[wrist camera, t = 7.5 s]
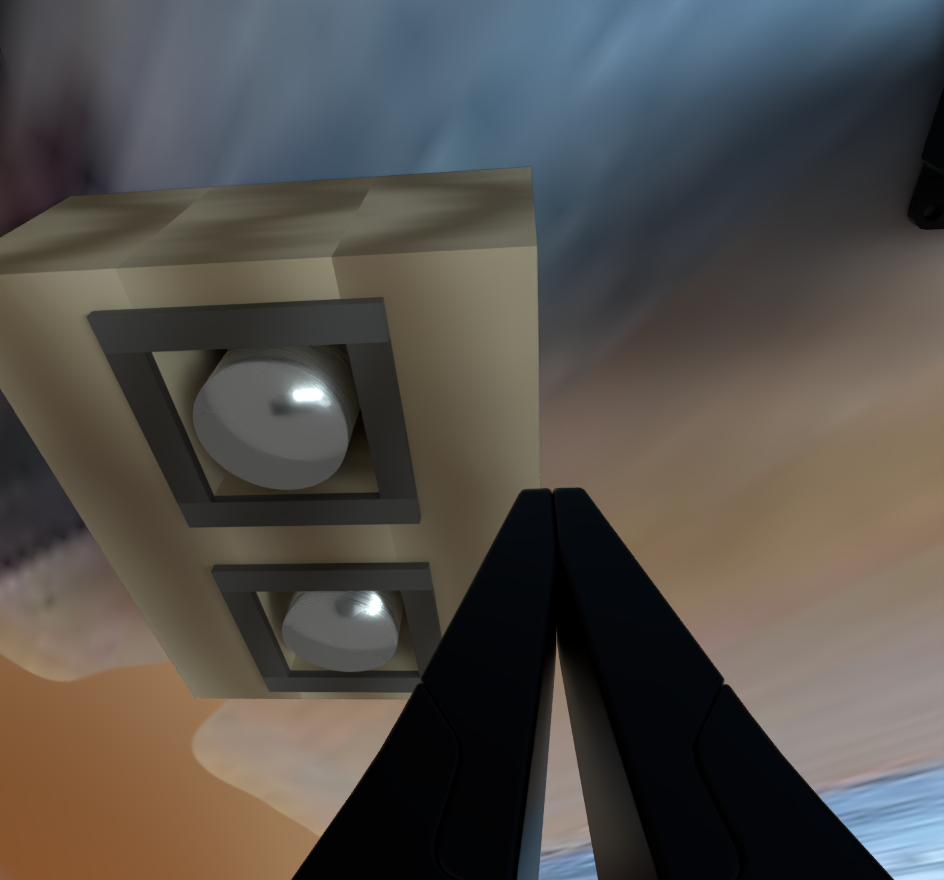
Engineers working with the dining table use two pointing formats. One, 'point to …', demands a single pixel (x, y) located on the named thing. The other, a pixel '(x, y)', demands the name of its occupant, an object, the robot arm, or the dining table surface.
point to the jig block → (276, 325)
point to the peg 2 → (344, 628)
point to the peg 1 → (279, 413)
